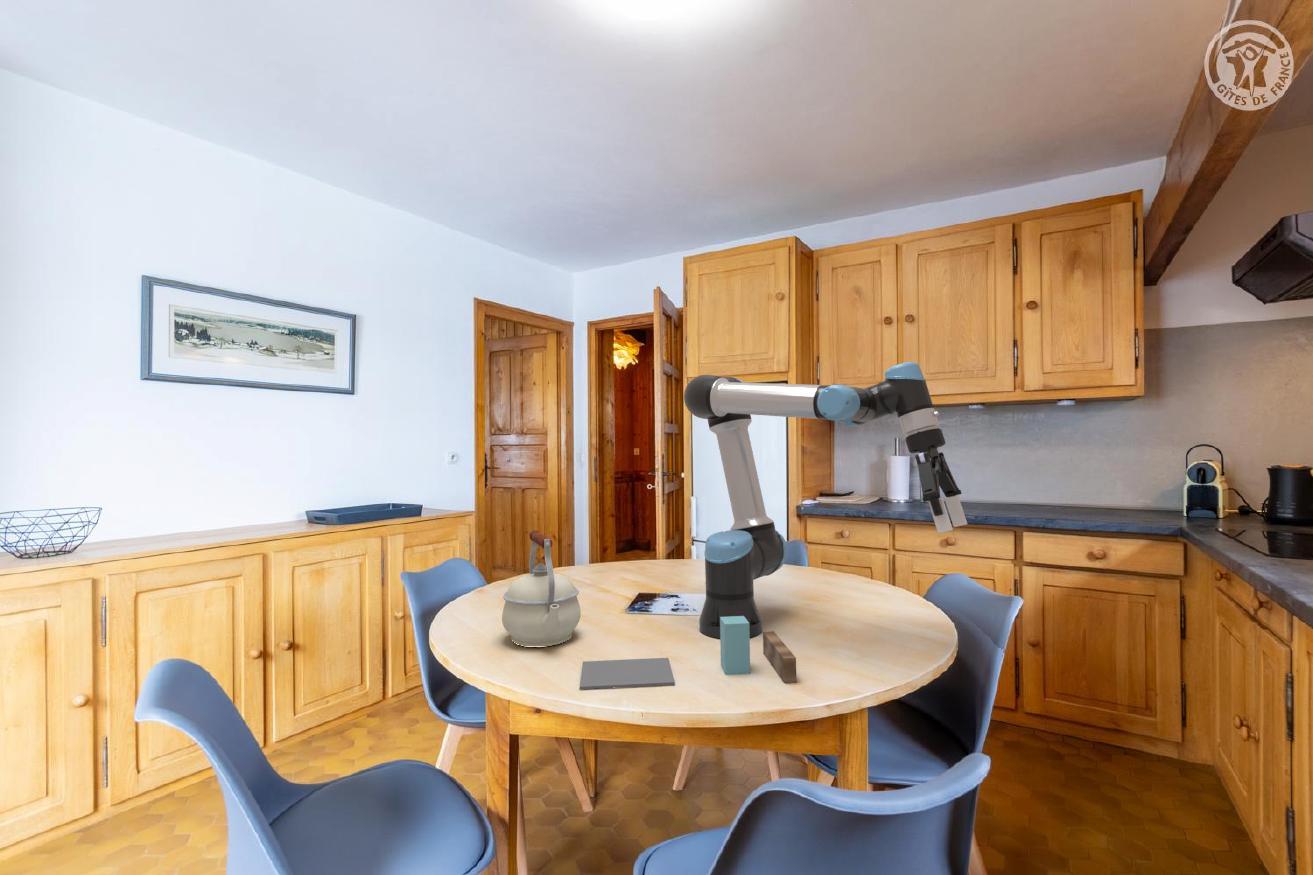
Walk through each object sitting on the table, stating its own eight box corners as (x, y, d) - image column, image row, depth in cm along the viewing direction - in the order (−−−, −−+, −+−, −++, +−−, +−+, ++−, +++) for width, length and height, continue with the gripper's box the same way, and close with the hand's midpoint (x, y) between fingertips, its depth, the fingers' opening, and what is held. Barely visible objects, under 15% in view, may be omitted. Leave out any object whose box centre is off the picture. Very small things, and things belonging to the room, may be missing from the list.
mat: (582, 664, 125) (582, 661, 125) (668, 660, 127) (668, 657, 127) (579, 689, 112) (579, 686, 112) (674, 685, 114) (674, 682, 114)
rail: (763, 654, 130) (762, 631, 130) (774, 654, 130) (773, 631, 130) (784, 684, 114) (783, 658, 114) (796, 683, 114) (795, 657, 114)
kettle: (496, 630, 149) (494, 530, 149) (567, 620, 156) (566, 525, 156) (513, 664, 126) (511, 546, 126) (597, 651, 133) (595, 539, 133)
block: (720, 665, 123) (719, 616, 124) (744, 664, 124) (743, 615, 124) (725, 674, 118) (724, 624, 119) (750, 673, 119) (749, 623, 119)
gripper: (924, 423, 118) (958, 530, 113) (953, 429, 137) (984, 519, 133) (886, 435, 122) (918, 538, 118) (920, 438, 142) (949, 527, 137)
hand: (953, 528), depth 125 cm, fingers open, 13 cm apart
